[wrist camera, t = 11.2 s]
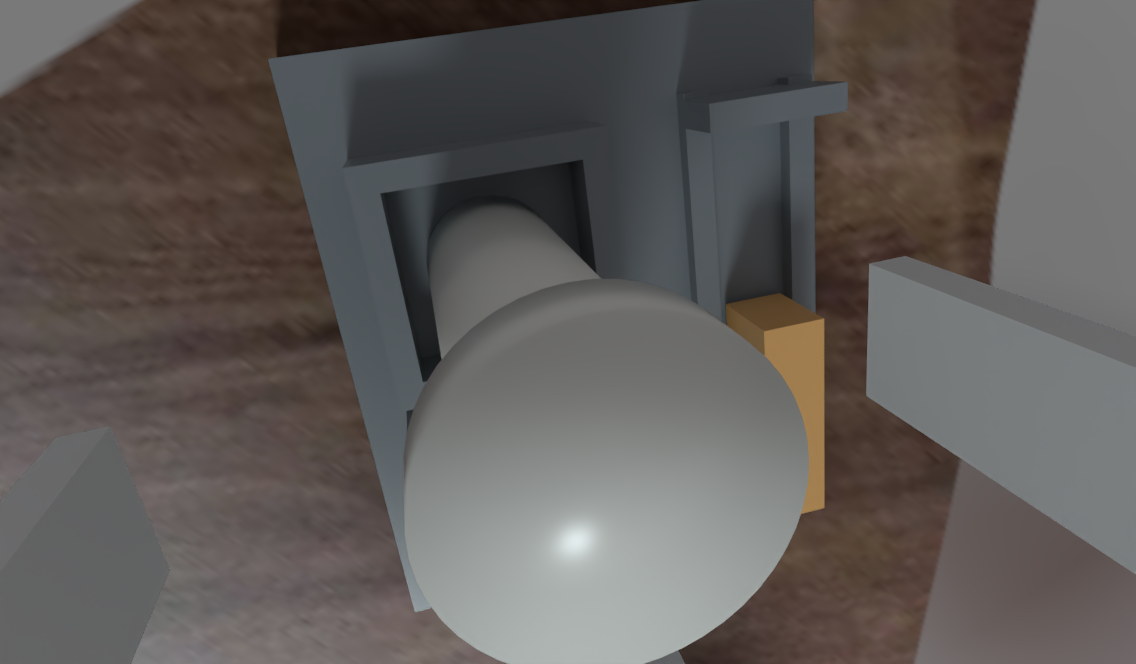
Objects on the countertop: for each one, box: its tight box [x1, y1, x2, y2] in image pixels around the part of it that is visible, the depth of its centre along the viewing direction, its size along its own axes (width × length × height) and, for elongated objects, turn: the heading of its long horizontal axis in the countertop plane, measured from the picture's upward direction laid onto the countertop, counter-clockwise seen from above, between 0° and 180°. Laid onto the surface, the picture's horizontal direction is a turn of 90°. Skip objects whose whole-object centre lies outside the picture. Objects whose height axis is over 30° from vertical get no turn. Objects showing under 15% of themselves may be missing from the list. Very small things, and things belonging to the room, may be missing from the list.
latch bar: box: [726, 293, 824, 514], centre depth 25 cm, size 2×7×3 cm, turn 8°
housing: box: [268, 0, 848, 664], centre depth 18 cm, size 16×19×16 cm
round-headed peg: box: [403, 195, 809, 664], centre depth 16 cm, size 6×6×14 cm
